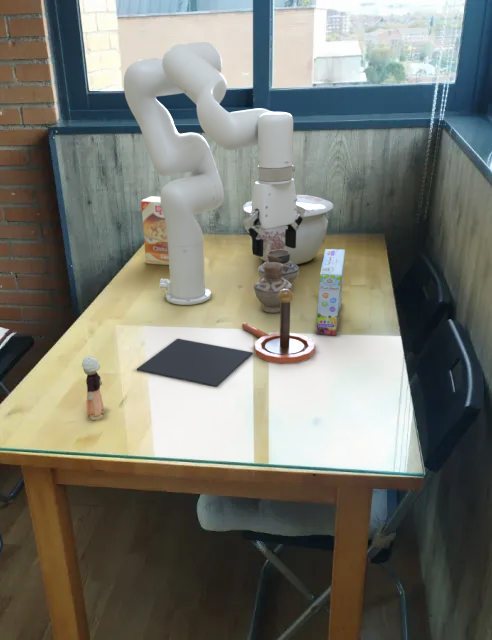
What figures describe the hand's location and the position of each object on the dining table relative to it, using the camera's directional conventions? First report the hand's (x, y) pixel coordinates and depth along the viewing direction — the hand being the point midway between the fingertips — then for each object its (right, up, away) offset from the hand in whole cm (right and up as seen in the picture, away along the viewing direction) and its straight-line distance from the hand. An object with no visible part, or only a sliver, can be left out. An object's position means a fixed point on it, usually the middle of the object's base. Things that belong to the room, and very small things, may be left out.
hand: (274, 251), depth 160 cm
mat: (-18, -26, -4) cm, 32 cm away
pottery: (+3, -6, +28) cm, 29 cm away
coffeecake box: (-27, +12, +60) cm, 67 cm away
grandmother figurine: (-37, -39, -23) cm, 59 cm away
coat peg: (+2, -23, -1) cm, 23 cm away
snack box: (+15, -14, +15) cm, 25 cm away
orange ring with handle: (0, -21, +3) cm, 21 cm away
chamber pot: (+10, +12, +58) cm, 60 cm away
